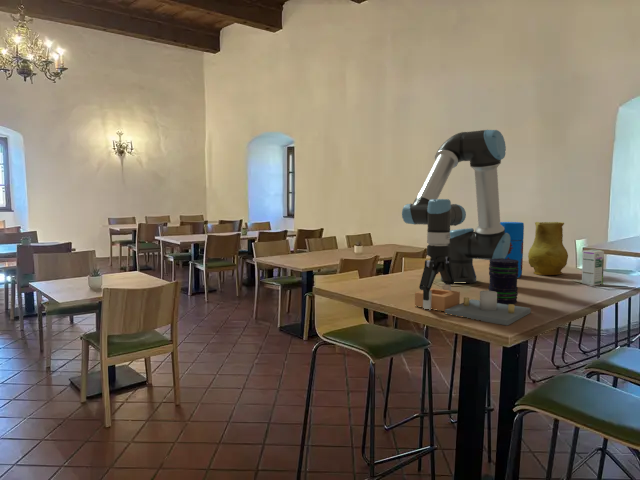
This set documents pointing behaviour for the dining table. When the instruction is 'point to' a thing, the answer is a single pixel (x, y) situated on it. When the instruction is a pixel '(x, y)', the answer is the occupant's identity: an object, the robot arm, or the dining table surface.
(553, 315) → the dining table surface
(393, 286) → the dining table surface
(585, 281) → the syrup box
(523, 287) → the dining table surface
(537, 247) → the yellow rounded vessel
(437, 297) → the square frame
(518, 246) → the thermos
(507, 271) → the storage jar
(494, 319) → the post board
